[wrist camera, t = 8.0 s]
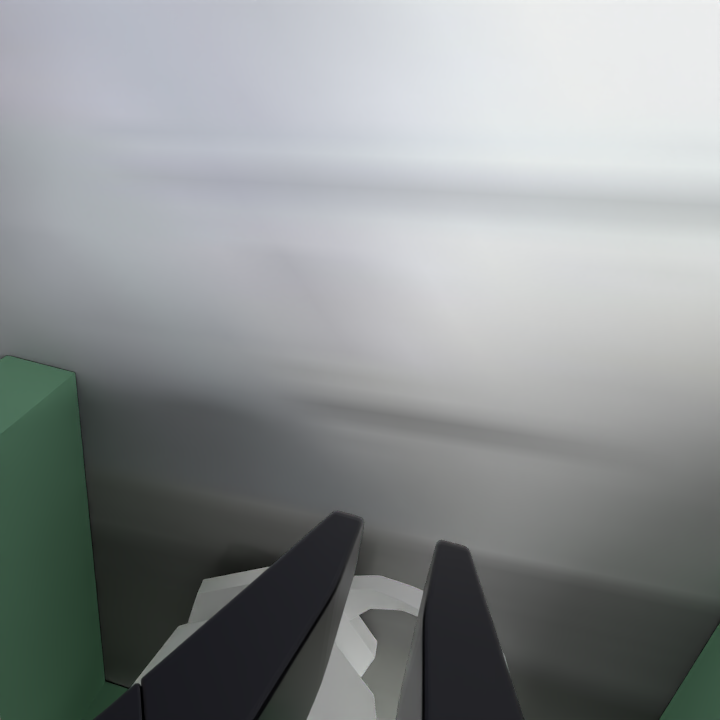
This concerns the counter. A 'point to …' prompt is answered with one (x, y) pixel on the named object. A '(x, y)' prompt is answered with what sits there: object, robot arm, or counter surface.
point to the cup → (351, 646)
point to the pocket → (76, 566)
